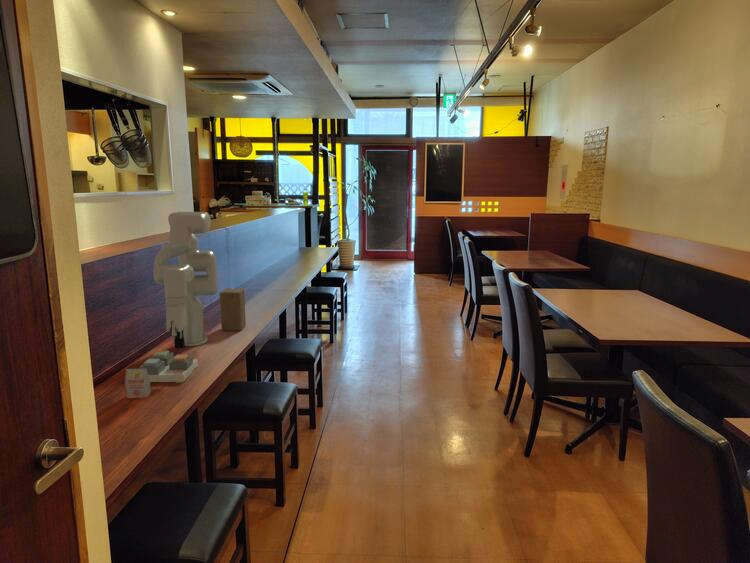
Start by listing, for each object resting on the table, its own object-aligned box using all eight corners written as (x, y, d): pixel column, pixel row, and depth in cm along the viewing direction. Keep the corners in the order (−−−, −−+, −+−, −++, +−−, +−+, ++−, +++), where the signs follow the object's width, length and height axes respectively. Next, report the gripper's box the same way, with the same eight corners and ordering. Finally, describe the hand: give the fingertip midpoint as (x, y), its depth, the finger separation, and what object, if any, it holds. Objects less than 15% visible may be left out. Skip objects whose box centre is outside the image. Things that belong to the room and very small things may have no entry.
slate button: (149, 364, 180) (148, 358, 180) (160, 364, 181) (159, 358, 180) (144, 369, 176) (143, 362, 176) (155, 368, 176) (155, 362, 176)
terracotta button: (177, 360, 185) (177, 354, 185) (188, 360, 185) (188, 354, 185) (173, 364, 181) (173, 358, 181) (184, 364, 181) (184, 358, 181)
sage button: (158, 356, 189) (158, 350, 189) (169, 356, 189) (169, 350, 189) (154, 360, 185) (153, 354, 185) (165, 360, 185) (164, 354, 185)
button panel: (157, 366, 191) (156, 352, 190) (198, 366, 192) (197, 352, 191) (139, 382, 176) (138, 367, 175) (184, 382, 176) (182, 367, 175)
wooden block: (241, 331, 239) (239, 292, 235) (221, 331, 239) (218, 292, 235) (246, 325, 249) (244, 288, 245) (227, 325, 249) (225, 288, 245)
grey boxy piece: (130, 394, 166) (127, 367, 164) (150, 393, 167) (148, 366, 165) (126, 398, 163) (123, 371, 161) (146, 398, 163) (144, 370, 161)
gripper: (173, 296, 186) (177, 342, 189) (158, 305, 171) (162, 354, 174) (193, 296, 186) (196, 341, 189) (179, 304, 171) (183, 353, 174)
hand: (179, 347), depth 181 cm, fingers closed
